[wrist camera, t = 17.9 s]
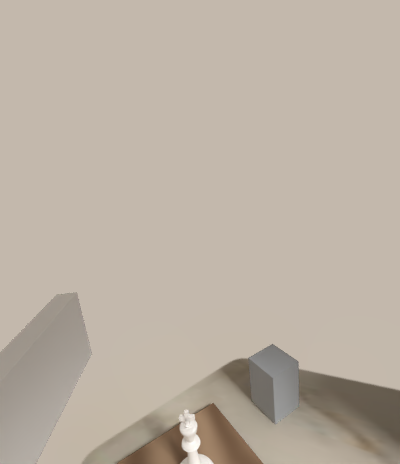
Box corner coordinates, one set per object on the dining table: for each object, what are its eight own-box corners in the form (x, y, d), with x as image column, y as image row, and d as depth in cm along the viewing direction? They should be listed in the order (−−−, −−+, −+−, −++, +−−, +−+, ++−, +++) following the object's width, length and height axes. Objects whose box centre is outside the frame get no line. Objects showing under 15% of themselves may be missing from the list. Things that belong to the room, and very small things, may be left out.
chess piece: (217, 502, 31) (208, 431, 28) (173, 504, 31) (160, 434, 29) (216, 456, 36) (208, 391, 33) (178, 457, 36) (167, 394, 33)
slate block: (274, 385, 47) (272, 344, 44) (299, 406, 42) (298, 361, 40) (251, 400, 44) (248, 357, 42) (275, 424, 40) (273, 378, 38)
